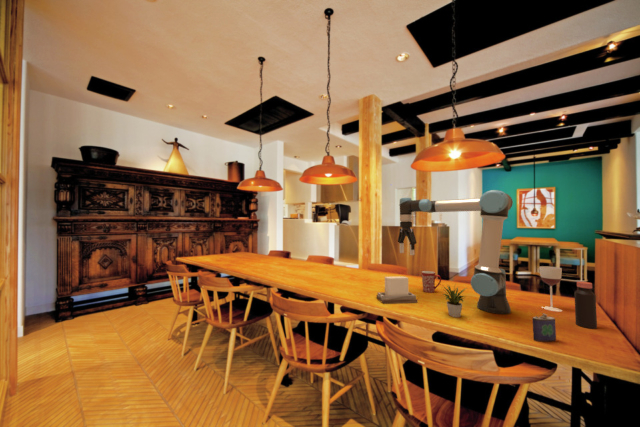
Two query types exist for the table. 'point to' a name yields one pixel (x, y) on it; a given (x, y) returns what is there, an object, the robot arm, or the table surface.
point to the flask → (544, 329)
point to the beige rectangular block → (396, 286)
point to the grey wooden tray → (397, 298)
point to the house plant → (454, 302)
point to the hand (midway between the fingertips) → (406, 254)
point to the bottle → (585, 306)
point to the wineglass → (551, 281)
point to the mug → (429, 281)
